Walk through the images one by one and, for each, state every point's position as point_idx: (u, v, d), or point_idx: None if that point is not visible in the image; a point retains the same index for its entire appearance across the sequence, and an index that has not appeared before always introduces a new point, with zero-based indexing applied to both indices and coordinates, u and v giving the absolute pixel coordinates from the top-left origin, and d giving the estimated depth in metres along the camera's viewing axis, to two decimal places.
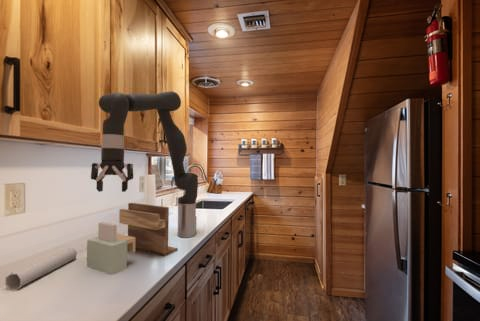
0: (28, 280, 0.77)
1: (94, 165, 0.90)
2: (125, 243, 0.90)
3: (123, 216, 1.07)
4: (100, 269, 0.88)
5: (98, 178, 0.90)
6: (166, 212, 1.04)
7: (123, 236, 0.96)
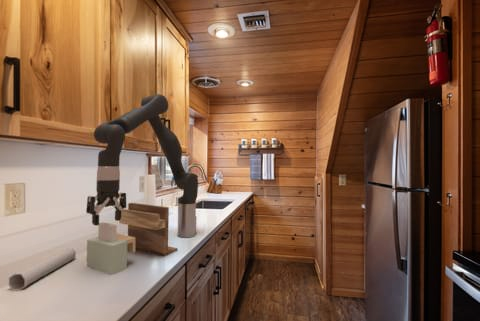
0: (32, 280, 0.78)
1: (94, 199, 0.86)
2: (125, 243, 0.90)
3: (123, 216, 1.07)
4: (100, 269, 0.88)
5: (98, 211, 0.87)
6: (166, 212, 1.04)
7: (123, 236, 0.96)
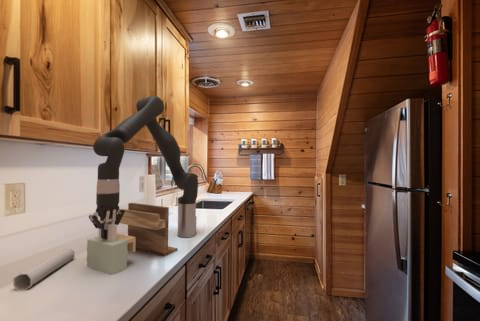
0: (36, 280, 0.78)
1: (95, 217, 0.86)
2: (125, 243, 0.90)
3: (123, 216, 1.07)
4: (100, 269, 0.88)
5: (106, 226, 0.90)
6: (166, 212, 1.04)
7: (123, 236, 0.96)
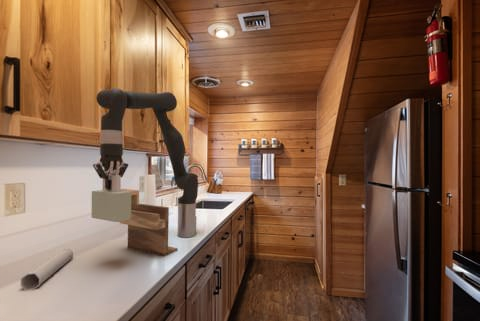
0: (43, 279, 0.78)
1: (99, 165, 0.87)
2: (129, 193, 0.92)
3: None
4: (105, 218, 0.90)
5: (110, 176, 0.91)
6: (166, 212, 1.04)
7: (127, 189, 0.98)
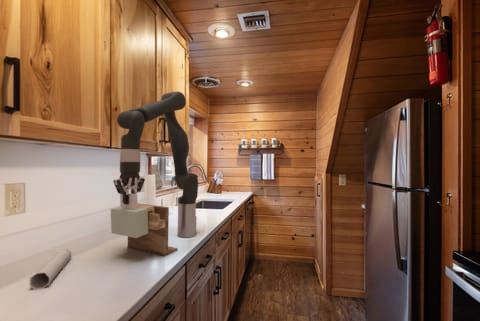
0: (52, 278, 0.79)
1: (119, 181, 0.95)
2: (146, 210, 0.99)
3: None
4: (124, 234, 0.97)
5: (127, 192, 0.98)
6: (166, 212, 1.04)
7: (142, 205, 1.05)
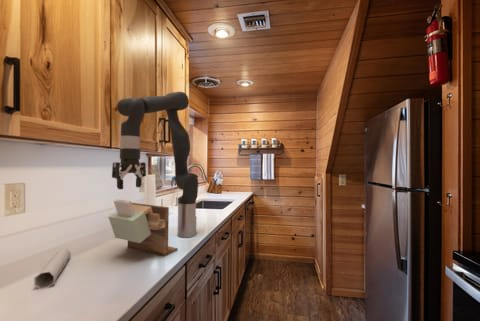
0: (56, 277, 0.80)
1: (118, 164, 0.94)
2: (143, 215, 0.98)
3: None
4: (128, 239, 0.99)
5: (122, 176, 0.96)
6: (166, 212, 1.04)
7: (139, 207, 1.03)
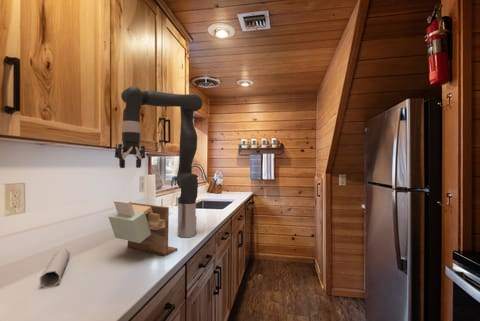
0: (60, 276, 0.80)
1: (121, 145, 1.06)
2: (143, 215, 0.98)
3: None
4: (128, 239, 0.99)
5: (124, 157, 1.08)
6: (166, 212, 1.04)
7: (139, 207, 1.03)
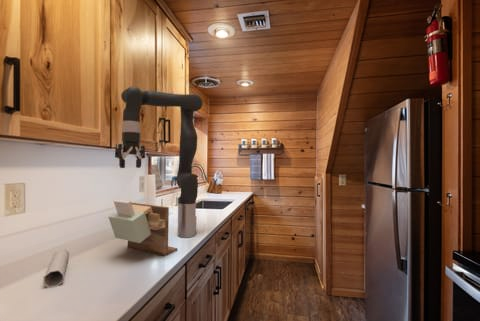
0: (63, 276, 0.81)
1: (121, 145, 1.06)
2: (143, 215, 0.98)
3: None
4: (128, 239, 0.99)
5: (124, 157, 1.08)
6: (166, 212, 1.04)
7: (139, 207, 1.03)
